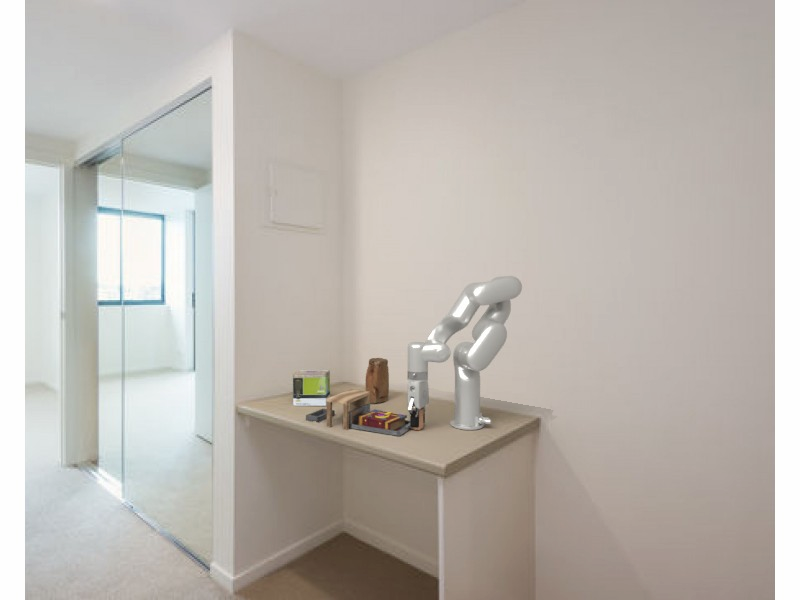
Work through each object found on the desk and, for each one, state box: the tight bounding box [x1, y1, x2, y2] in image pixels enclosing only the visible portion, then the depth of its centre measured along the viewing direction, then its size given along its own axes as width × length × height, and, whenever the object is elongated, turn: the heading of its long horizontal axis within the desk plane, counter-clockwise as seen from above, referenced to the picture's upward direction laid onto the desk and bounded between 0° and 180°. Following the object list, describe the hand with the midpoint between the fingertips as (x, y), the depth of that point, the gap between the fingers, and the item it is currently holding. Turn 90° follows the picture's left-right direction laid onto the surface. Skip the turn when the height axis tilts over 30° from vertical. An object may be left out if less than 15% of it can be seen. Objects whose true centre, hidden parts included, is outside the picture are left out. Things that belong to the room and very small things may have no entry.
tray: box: [349, 403, 424, 437], centre depth 157 cm, size 24×14×7 cm, turn 64°
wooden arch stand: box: [326, 389, 371, 431], centre depth 164 cm, size 9×17×11 cm, turn 154°
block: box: [365, 357, 390, 404], centre depth 196 cm, size 11×8×20 cm
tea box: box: [292, 369, 331, 407], centre depth 192 cm, size 15×10×15 cm, turn 89°
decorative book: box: [358, 409, 408, 431], centre depth 159 cm, size 11×16×5 cm
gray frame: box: [305, 408, 336, 423], centre depth 170 cm, size 6×11×2 cm, turn 154°
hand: (417, 424), depth 156 cm, fingers open, 4 cm apart
